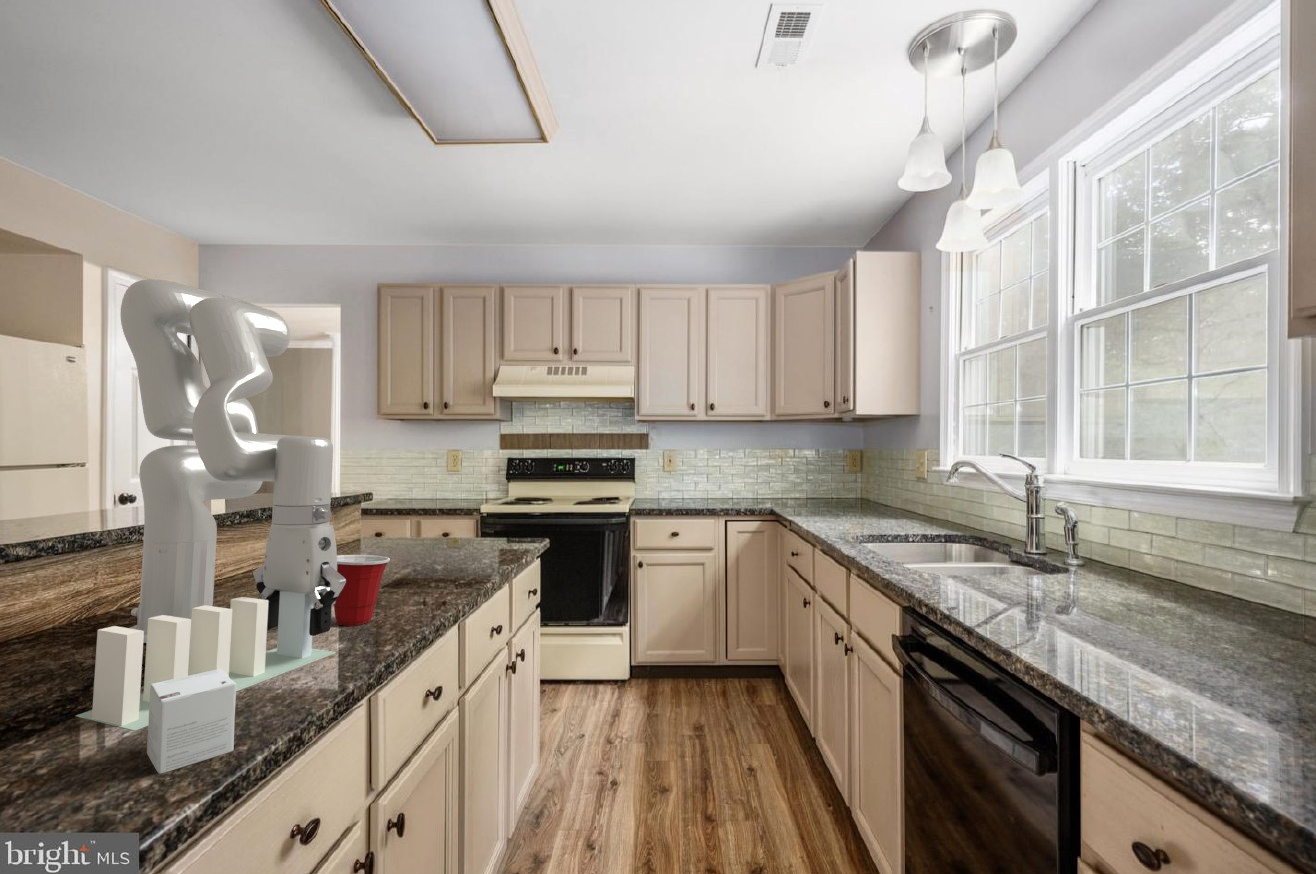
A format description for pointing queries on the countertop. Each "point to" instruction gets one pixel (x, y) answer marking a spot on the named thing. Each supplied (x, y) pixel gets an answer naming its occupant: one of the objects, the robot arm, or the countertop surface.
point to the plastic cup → (358, 587)
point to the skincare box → (190, 719)
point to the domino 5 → (294, 625)
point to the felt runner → (273, 668)
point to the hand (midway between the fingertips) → (295, 629)
